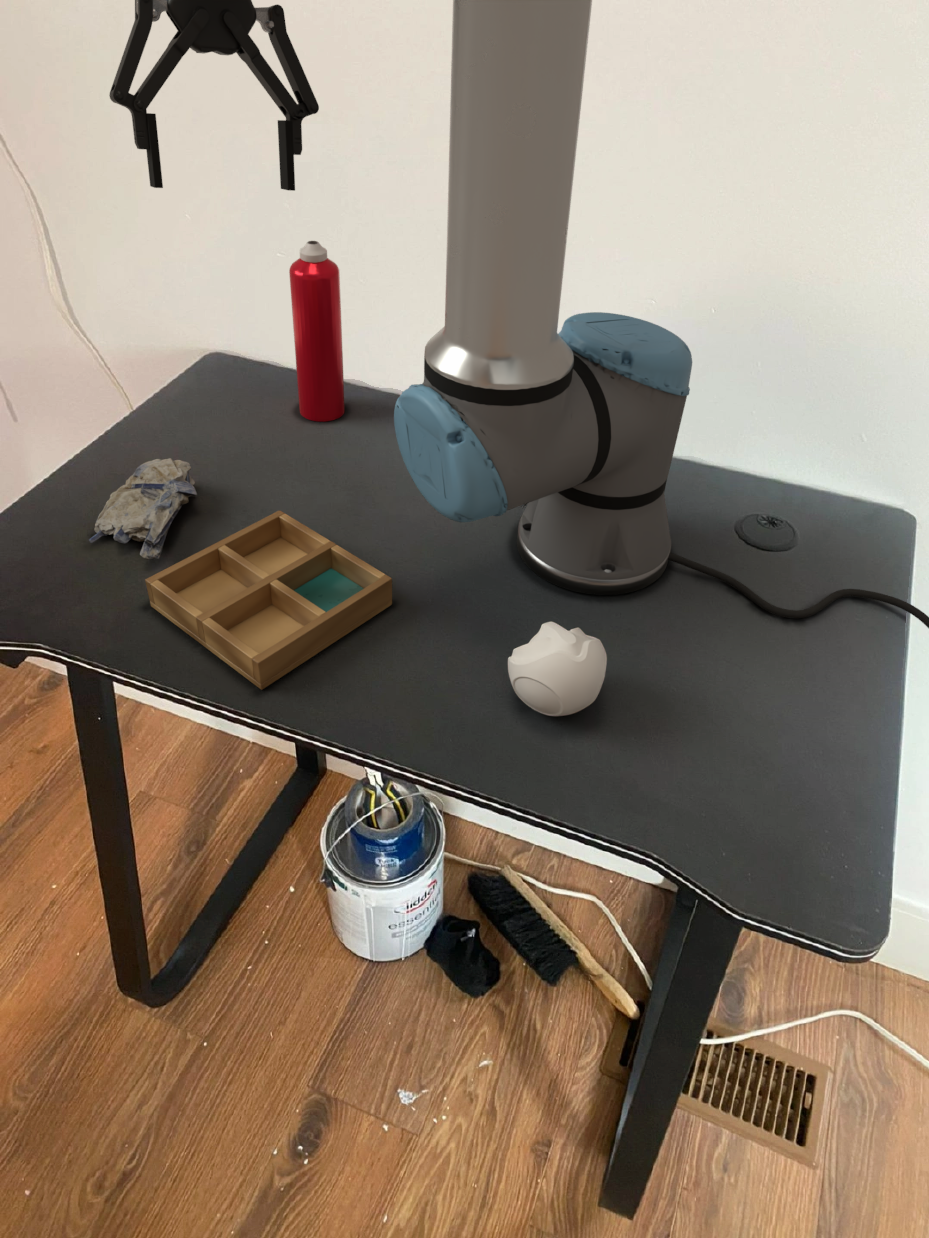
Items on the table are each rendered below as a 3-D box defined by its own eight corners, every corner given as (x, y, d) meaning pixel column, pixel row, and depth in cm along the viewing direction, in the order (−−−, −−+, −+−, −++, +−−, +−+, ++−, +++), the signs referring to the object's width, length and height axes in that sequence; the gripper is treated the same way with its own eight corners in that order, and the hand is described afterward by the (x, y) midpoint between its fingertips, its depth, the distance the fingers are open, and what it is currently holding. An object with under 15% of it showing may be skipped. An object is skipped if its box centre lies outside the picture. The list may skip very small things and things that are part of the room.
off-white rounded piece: (569, 659, 80) (581, 590, 75) (618, 717, 75) (634, 648, 70) (489, 686, 77) (495, 616, 72) (534, 748, 72) (545, 678, 67)
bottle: (352, 406, 113) (347, 239, 100) (331, 425, 109) (323, 255, 96) (313, 396, 114) (303, 231, 101) (291, 415, 110) (277, 245, 97)
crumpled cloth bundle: (145, 477, 99) (138, 443, 96) (219, 489, 98) (214, 455, 95) (74, 557, 88) (63, 520, 85) (155, 571, 87) (148, 535, 84)
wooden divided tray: (392, 604, 85) (392, 578, 83) (261, 690, 76) (258, 663, 74) (282, 535, 92) (279, 509, 90) (150, 606, 83) (144, 579, 81)
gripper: (321, -41, 94) (326, 188, 103) (57, -75, 83) (91, 183, 93) (346, -52, 88) (350, 193, 98) (66, -90, 77) (102, 188, 87)
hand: (224, 189), depth 95 cm, fingers open, 13 cm apart
